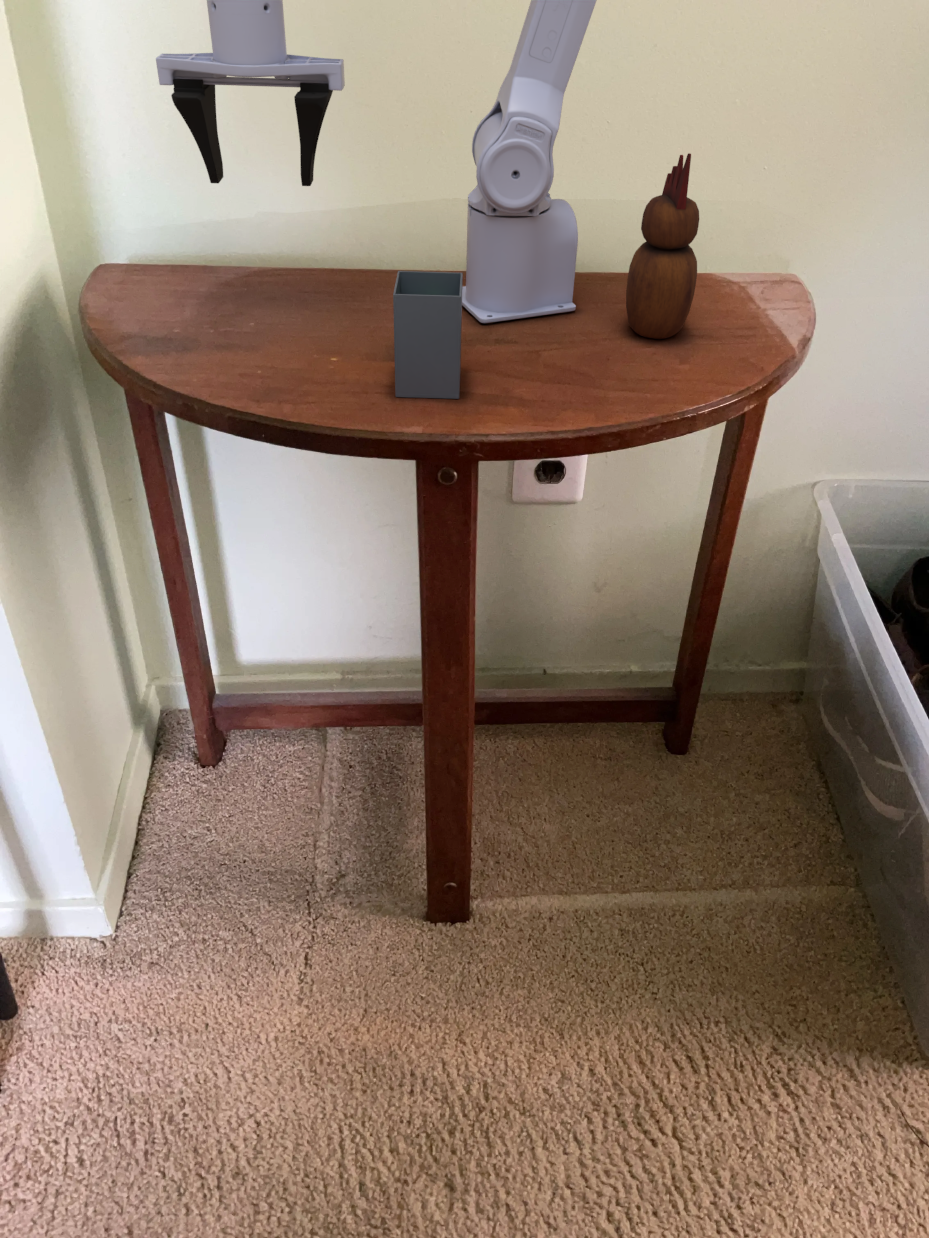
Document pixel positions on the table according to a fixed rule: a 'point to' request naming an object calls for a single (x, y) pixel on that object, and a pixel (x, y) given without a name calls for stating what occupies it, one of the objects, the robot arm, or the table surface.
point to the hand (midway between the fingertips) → (262, 181)
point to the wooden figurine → (664, 260)
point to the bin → (427, 334)
